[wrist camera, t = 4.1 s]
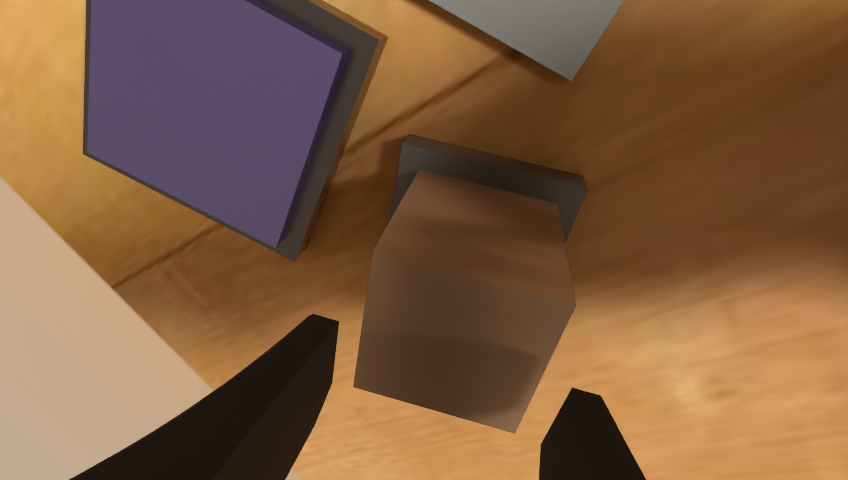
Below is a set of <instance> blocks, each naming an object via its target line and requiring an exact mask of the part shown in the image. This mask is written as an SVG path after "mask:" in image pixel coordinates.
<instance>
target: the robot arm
mask: <svg viewBox="0 0 848 480" xmlns="http://www.w3.org/2000/svg"><path fill="white" fill-rule="evenodd" d="M338 325H339V321H336V320H332V319H329V318H325V317H322V316H318V315H315V314H312V315H310V316H308V317H307V318H306V319H305V320H303V321H302V322H301V323H300V324H299V325H298V326H297V327H295V328H294V329H293V330H292V331H291V332H290V333H288V334H287V335H286V336H285V337H284V338H282V339H281V340H280V341H279V342H278V343H276V344H275V345H274V346H273V347H271V348H270V349H269V350H268V351H266V352H265V353H264V354H263V355H261V356H260V357H259V358H258V359H256V360H255V361H254V362H252V363H251V364H250V365H248V366H247V367H246V368H245V369H243V370H242V371H241V372H239V373H238V374H237V375H235V376H234V377H233V378H231V379H230V380H229V381H227V382H226V383H225V384H223V385H222V386H220V387H219V388H217V389H216V390H215V391H213V392H212V393H210V394H209V395H207V396H206V397H205V398H203V399H202V400H200V401H199V402H197V403H196V404H194V405H193V406H192V407H190V408H189V409H187V410H186V411H184V412H183V413H181V414H180V415H178V416H177V417H175V418H173V419H172V420H170V421H169V422H167V423H166V424H164V425H163V426H161V427H159V428H158V429H156V430H155V431H153V432H151V433H150V434H148V435H147V436H145V437H143V438H141V439H140V440H138V441H137V442H135V443H133V444H132V445H130V446H128V447H127V448H125V449H123V450H121V451H120V452H118V453H116V454H114V455H113V456H111V457H109V458H107V459H105V460H104V461H102V462H100V463H98V464H96V465H95V466H93V467H91V468H89V469H88V470H86V471H84V472H82V473H80V474H79V475H77V476H75V477H73V478H71V479H69V480H285V479H286V477H287V475H288V473H289V472H290V470H291V468H292V466H293V464H294V462H295V461H296V459H297V457H298V455H299V453H300V451H301V450H302V448H303V446H304V444H305V442H306V440H307V438H308V437H309V435H310V433H311V431H312V429H313V427H314V425H315V423H316V421H317V418H318V416H319V413H320V411H321V409H322V406H323V404H324V402H325V399H326V397H327V394H328V392H329V389H330V387H331V384H332V379H333V370H334V361H335V352H336V343H337V334H338ZM539 480H646V479H645V477H644V475H643V473H642V471H641V470H640V468H639V466H638V464H637V462H636V460H635V459H634V457H633V455H632V453H631V451H630V449H629V447H628V446H627V444H626V442H625V440H624V438H623V436H622V434H621V433H620V431H619V429H618V427H617V425H616V423H615V421H614V419H613V417H612V416H611V414H610V412H609V410H608V408H607V406H606V404H605V403H604V401H603V399H602V397H601V396H600V395H596V394H593V393H589V392H586V391H582V390H579V389H575V388H572V389H571V391H570V393H569V395H568V396H567V398H566V400H565V402H564V404H563V405H562V407H561V409H560V411H559V413H558V414H557V416H556V418H555V420H554V422H553V424H552V425H551V427H550V429H549V431H548V433H547V434H546V436H545V438H544V440H543V442H542V443H541V452H540V470H539Z"/></svg>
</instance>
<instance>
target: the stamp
mask: <svg viewBox="0 0 848 480" xmlns="http://www.w3.org/2000/svg"><path fill="white" fill-rule="evenodd" d="M586 191H587V187H586V184H585V181H584V178H583V176H580V175H576V174H572V173H568V172H563V171H559V170H555V169H551V168H547V167H543V166H539V165H535V164H530V163H526V162H522V161H518V160H514V159H510V158H506V157H502V156H497V155H493V154H489V153H485V152H481V151H477V150H473V149H469V148H464V147H460V146H456V145H452V144H448V143H444V142H440V141H435V140H431V139H427V138H423V137H419V136H415V135H411V134H409V136H408V137H407V138H406V140H405V141H404V142H403V143H402V148H401V154H400V160H399V167H398V173H397V179H396V185H395V192H394V198H393V204H392V210H391V216H390V222H389V223H388V225H387V227H386V229H385V230H384V232H383V234H382V236H381V237H380V239H379V241H378V243H377V244H376V246H375V248H374V250H373V252H372V259H371V266H370V273H369V280H368V287H367V294H366V301H365V308H364V315H363V322H362V329H361V336H360V343H359V350H358V357H357V364H356V371H355V378H354V385H353V387H355V388H358V389H362V390H365V391H369V392H372V393H376V394H379V395H383V396H386V397H390V398H393V399H397V400H400V401H404V402H407V403H411V404H414V405H418V406H421V407H425V408H428V409H432V410H435V411H439V412H442V413H446V414H449V415H452V416H456V417H459V418H463V419H466V420H470V421H473V422H477V423H480V424H484V425H487V426H491V427H494V428H498V429H501V430H505V431H508V432H512V433H515V432H516V430H517V428H518V426H519V424H520V422H521V420H522V417H523V415H524V413H525V411H526V409H527V407H528V405H529V403H530V401H531V399H532V396H533V394H534V392H535V390H536V388H537V386H538V384H539V382H540V380H541V378H542V375H543V373H544V371H545V369H546V367H547V365H548V363H549V361H550V359H551V357H552V354H553V352H554V350H555V348H556V346H557V344H558V342H559V340H560V338H561V336H562V333H563V331H564V329H565V327H566V325H567V323H568V321H569V319H570V317H571V315H572V312H573V310H574V308H575V306H576V301H575V296H574V290H573V285H572V280H571V274H570V269H569V263H568V258H567V252H566V247H565V241H566V239H567V237H568V234H569V232H570V229H571V227H572V225H573V222H574V220H575V217H576V215H577V213H578V210H579V208H580V205H581V203H582V201H583V198H584V196H585V193H586Z"/></svg>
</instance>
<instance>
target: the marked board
mask: <svg viewBox="0 0 848 480" xmlns="http://www.w3.org/2000/svg"><path fill="white" fill-rule="evenodd" d="M429 1H431V2H433V3H434V4H436V5H438V6H440V7H441V8H443V9H445V10H447V11H449V12H450V13H452V14H454V15H456V16H457V17H459V18H461V19H463V20H464V21H466V22H468V23H470V24H471V25H473V26H475V27H477V28H479V29H480V30H482V31H484V32H486V33H487V34H489V35H491V36H493V37H494V38H496V39H498V40H500V41H501V42H503V43H505V44H507V45H508V46H510V47H512V48H514V49H516V50H517V51H519V52H521V53H523V54H524V55H526V56H528V57H530V58H531V59H533V60H535V61H537V62H538V63H540V64H542V65H544V66H546V67H547V68H549V69H551V70H553V71H554V72H556V73H558V74H560V75H561V76H563V77H565V78H567V79H568V80H570V81H572V80H573V78H574V77H575V75H576V74H577V72H578V71H579V69H580V68H581V66H582V65H583V63H584V61H585V60H586V58H587V57H588V55H589V54H590V52H591V51H592V49H593V48H594V46H595V45H596V43H597V41H598V40H599V38H600V37H601V35H602V34H603V32H604V31H605V29H606V28H607V26H608V25H609V23H610V21H611V20H612V18H613V17H614V15H615V14H616V12H617V11H618V9H619V8H620V6H621V5H622V3H623V1H624V0H429Z"/></svg>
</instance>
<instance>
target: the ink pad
mask: <svg viewBox="0 0 848 480" xmlns="http://www.w3.org/2000/svg"><path fill="white" fill-rule="evenodd" d="M387 39H388V37H387V36H385V35H384V34H382V33H380V32H378V31H376V30H375V29H373V28H371V27H369V26H367V25H366V24H364V23H362V22H360V21H358V20H357V19H355V18H353V17H351V16H349V15H348V14H346V13H344V12H342V11H340V10H339V9H337V8H335V7H333V6H331V5H330V4H328V3H326V2H324V1H322V0H86V39H85V84H84V130H83V154H84V155H86V156H88V157H90V158H92V159H94V160H96V161H98V162H100V163H102V164H104V165H106V166H108V167H110V168H112V169H114V170H115V171H117V172H119V173H121V174H123V175H125V176H127V177H129V178H131V179H133V180H135V181H137V182H139V183H141V184H143V185H145V186H147V187H149V188H151V189H153V190H155V191H157V192H159V193H161V194H163V195H165V196H167V197H169V198H171V199H173V200H175V201H176V202H178V203H180V204H182V205H184V206H186V207H188V208H190V209H192V210H194V211H196V212H198V213H200V214H202V215H204V216H206V217H208V218H210V219H212V220H214V221H216V222H218V223H220V224H222V225H224V226H226V227H228V228H230V229H232V230H234V231H236V232H237V233H239V234H241V235H243V236H245V237H247V238H249V239H251V240H253V241H255V242H257V243H259V244H261V245H263V246H265V247H267V248H269V249H271V250H273V251H275V252H277V253H279V254H281V255H283V256H285V257H287V258H289V259H291V260H293V261H296V259H297V258H298V257H299V256H300V255H301V254H302V252H303V251H304V250H305V249H306V246H307V243H308V241H309V238H310V236H311V233H312V231H313V228H314V226H315V223H316V220H317V218H318V215H319V213H320V210H321V208H322V205H323V203H324V200H325V197H326V195H327V192H328V190H329V187H330V185H331V182H332V179H333V177H334V174H335V172H336V169H337V167H338V164H339V162H340V159H341V156H342V154H343V151H344V149H345V146H346V144H347V141H348V139H349V136H350V133H351V131H352V128H353V126H354V123H355V121H356V118H357V116H358V113H359V110H360V108H361V105H362V103H363V100H364V98H365V95H366V92H367V90H368V87H369V85H370V82H371V80H372V77H373V75H374V72H375V69H376V67H377V64H378V62H379V59H380V57H381V54H382V52H383V49H384V46H385V44H386V41H387Z"/></svg>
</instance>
